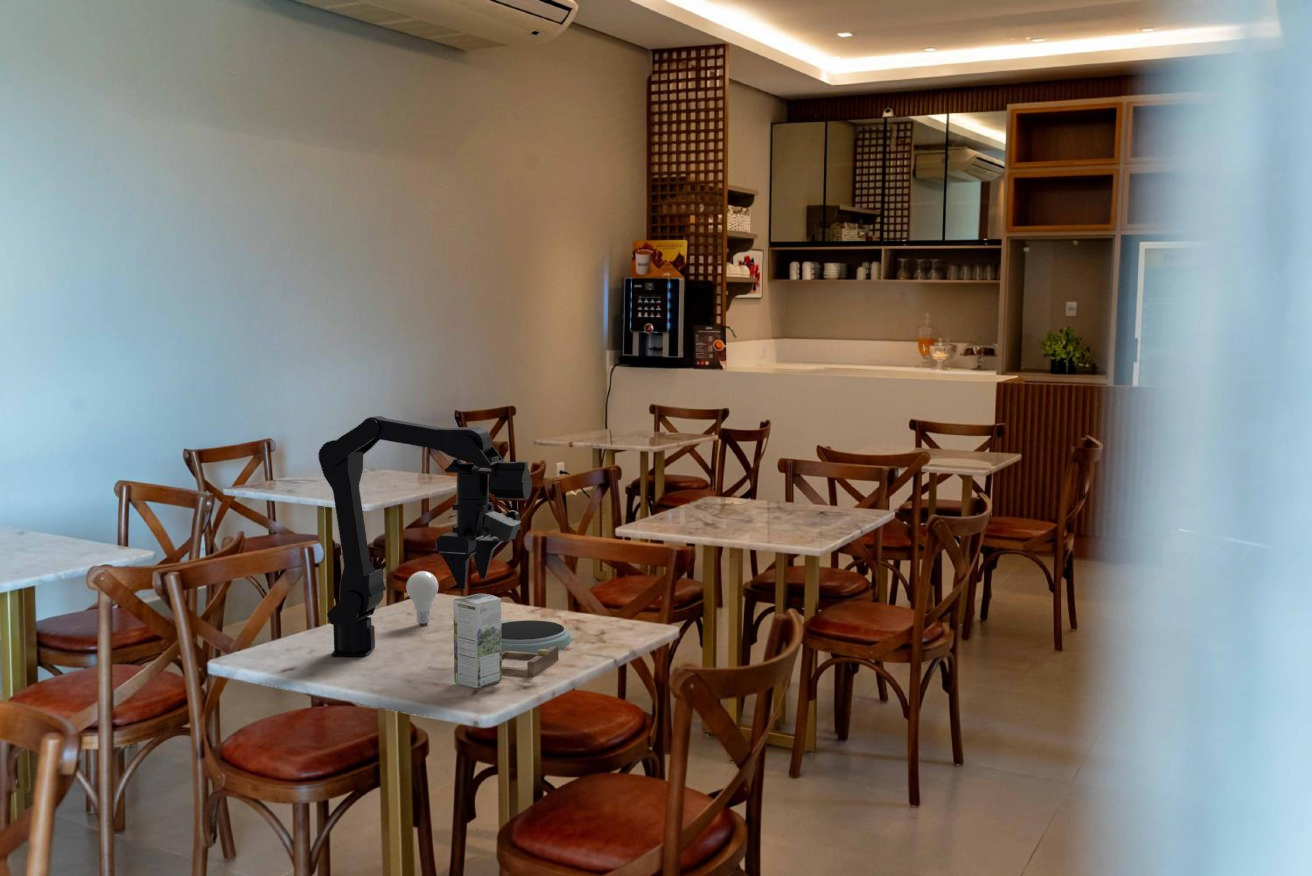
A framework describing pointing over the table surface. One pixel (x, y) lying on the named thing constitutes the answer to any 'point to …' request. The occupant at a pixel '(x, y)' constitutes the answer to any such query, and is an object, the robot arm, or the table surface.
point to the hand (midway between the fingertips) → (472, 583)
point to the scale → (532, 636)
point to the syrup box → (477, 640)
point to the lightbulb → (422, 594)
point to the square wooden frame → (531, 661)
